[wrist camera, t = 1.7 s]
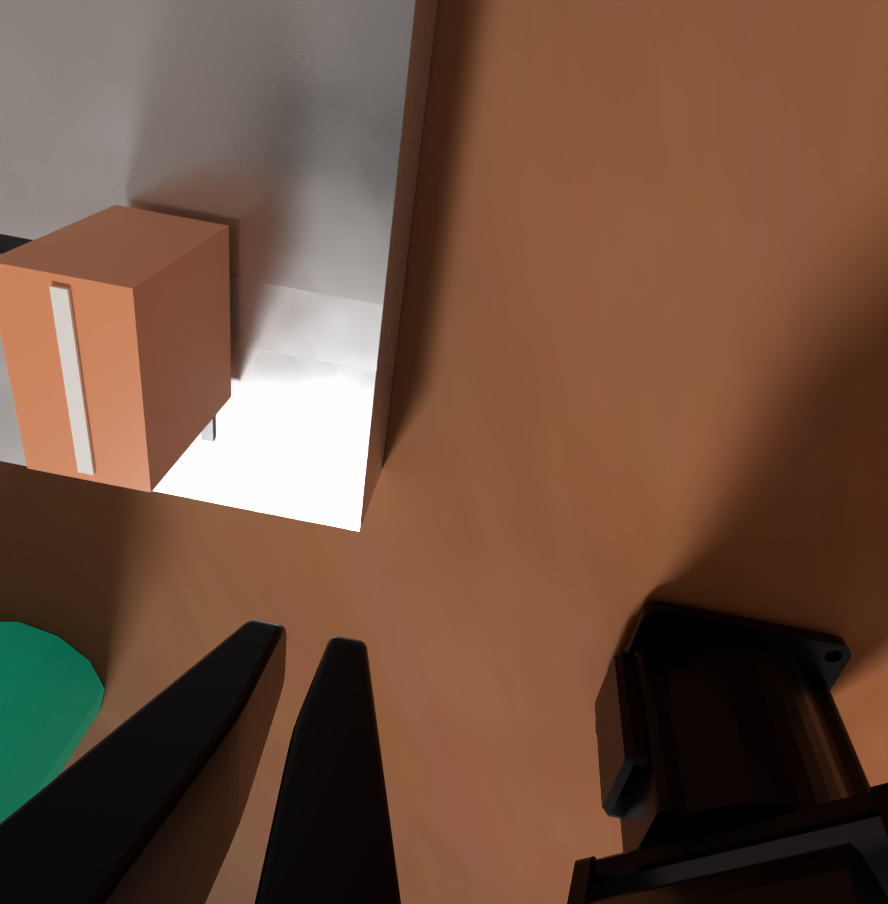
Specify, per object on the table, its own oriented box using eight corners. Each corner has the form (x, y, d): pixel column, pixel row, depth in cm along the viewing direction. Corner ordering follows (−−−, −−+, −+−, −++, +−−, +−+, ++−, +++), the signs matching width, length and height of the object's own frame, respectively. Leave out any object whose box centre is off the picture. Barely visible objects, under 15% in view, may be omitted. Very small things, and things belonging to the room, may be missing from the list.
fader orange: (272, 197, 17) (130, 289, 11) (269, 350, 19) (149, 494, 13) (174, 179, 17) (-18, 261, 11) (183, 333, 19) (24, 470, 13)
